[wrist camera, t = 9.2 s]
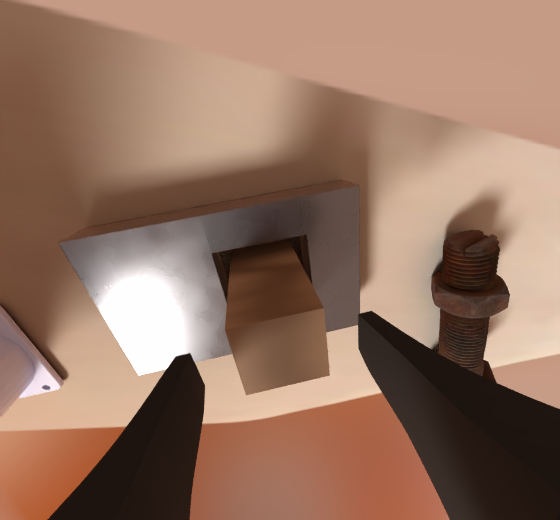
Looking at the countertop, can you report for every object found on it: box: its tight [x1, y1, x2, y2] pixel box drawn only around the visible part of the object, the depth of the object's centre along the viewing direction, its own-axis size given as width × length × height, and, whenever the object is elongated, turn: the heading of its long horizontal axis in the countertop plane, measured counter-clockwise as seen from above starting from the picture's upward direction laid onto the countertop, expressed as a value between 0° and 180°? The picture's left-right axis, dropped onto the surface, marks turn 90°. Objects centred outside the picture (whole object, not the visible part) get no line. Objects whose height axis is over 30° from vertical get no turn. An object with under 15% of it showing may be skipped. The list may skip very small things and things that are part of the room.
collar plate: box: [58, 180, 360, 375], centre depth 16 cm, size 16×10×2 cm, turn 98°
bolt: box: [431, 230, 510, 383], centre depth 20 cm, size 6×5×15 cm
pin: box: [225, 239, 330, 395], centre depth 14 cm, size 4×4×8 cm
